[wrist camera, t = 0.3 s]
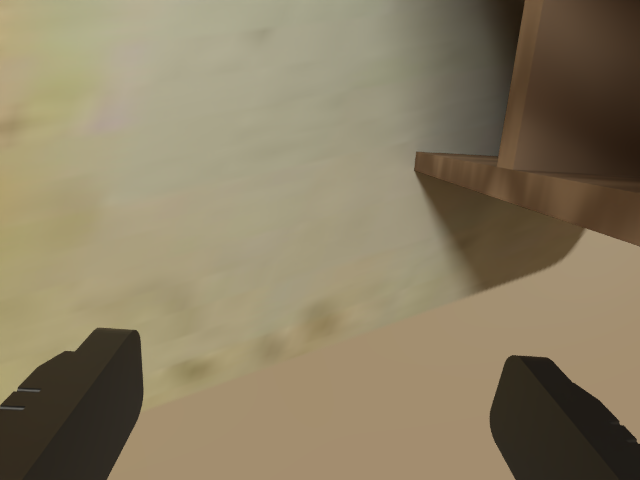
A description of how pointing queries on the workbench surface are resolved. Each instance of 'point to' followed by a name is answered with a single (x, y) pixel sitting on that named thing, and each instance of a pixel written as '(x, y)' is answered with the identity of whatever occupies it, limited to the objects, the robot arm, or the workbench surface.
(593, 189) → the shelf
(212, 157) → the workbench surface
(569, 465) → the robot arm
